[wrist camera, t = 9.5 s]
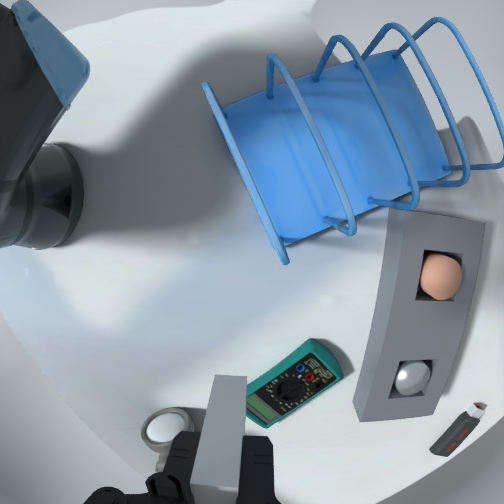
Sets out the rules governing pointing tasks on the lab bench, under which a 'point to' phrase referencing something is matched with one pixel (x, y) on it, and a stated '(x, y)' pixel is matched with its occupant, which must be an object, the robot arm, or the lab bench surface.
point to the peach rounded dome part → (439, 275)
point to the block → (416, 313)
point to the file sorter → (342, 139)
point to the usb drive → (458, 431)
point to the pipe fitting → (165, 431)
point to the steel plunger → (411, 376)
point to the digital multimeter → (291, 383)
